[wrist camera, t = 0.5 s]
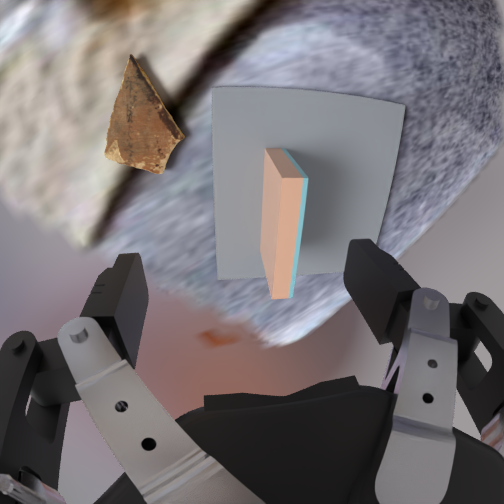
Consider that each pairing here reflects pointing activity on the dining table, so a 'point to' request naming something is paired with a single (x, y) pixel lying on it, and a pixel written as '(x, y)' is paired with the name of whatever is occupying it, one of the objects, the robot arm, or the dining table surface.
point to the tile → (282, 220)
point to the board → (310, 161)
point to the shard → (140, 124)
